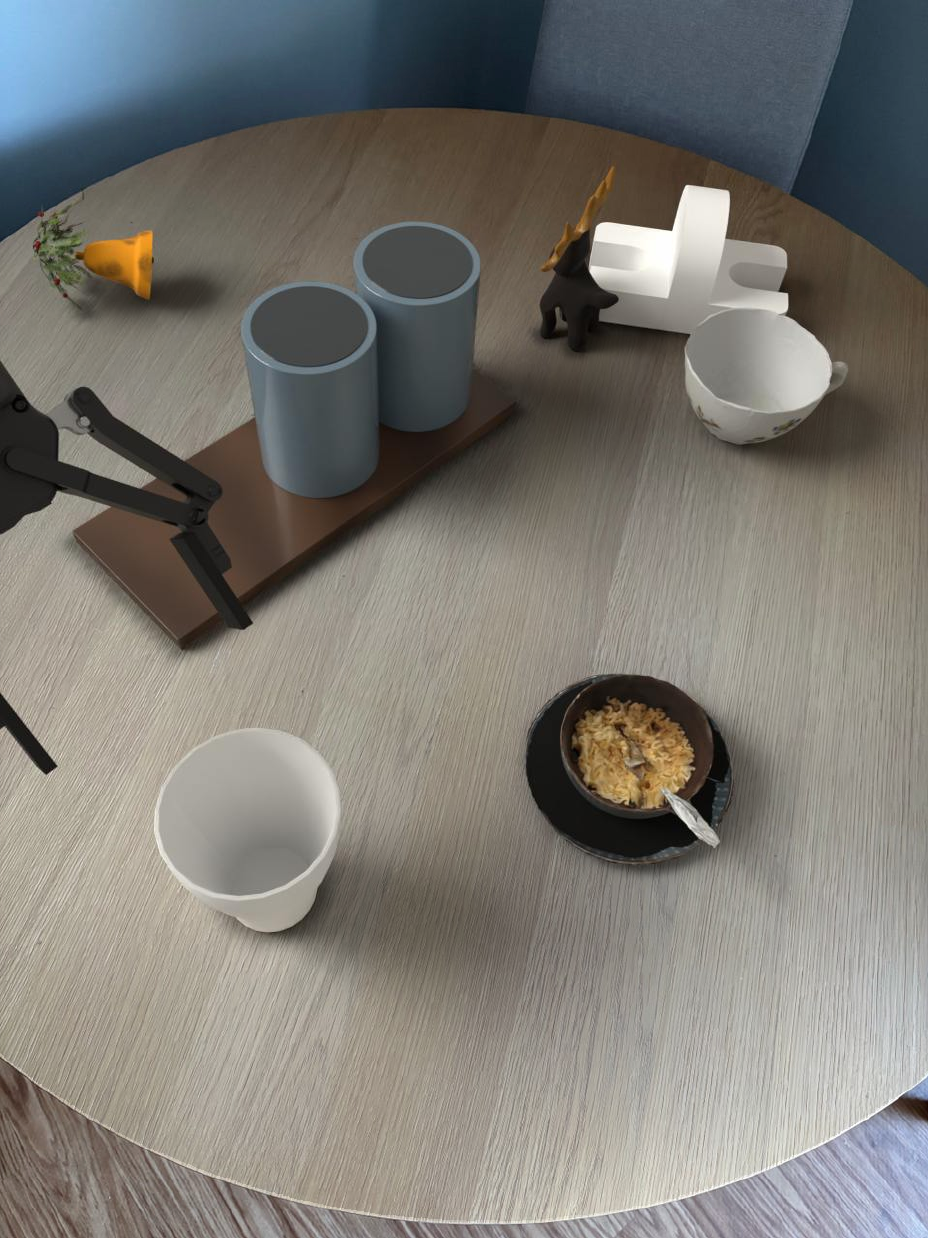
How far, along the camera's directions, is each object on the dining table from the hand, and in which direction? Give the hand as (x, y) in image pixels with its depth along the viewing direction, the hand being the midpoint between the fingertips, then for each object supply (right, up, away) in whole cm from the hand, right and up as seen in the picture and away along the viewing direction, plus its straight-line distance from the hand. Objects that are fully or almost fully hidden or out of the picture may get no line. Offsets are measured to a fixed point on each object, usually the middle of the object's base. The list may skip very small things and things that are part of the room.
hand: (148, 693), depth 61 cm
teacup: (+44, +22, +35) cm, 61 cm away
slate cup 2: (+14, +25, +33) cm, 43 cm away
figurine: (+28, +31, +40) cm, 58 cm away
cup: (+6, -14, +9) cm, 18 cm away
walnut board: (+5, +17, +29) cm, 34 cm away
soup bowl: (+30, -7, +15) cm, 34 cm away
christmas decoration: (-12, +35, +40) cm, 54 cm away
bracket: (+40, +36, +44) cm, 70 cm away
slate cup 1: (+6, +18, +28) cm, 34 cm away
